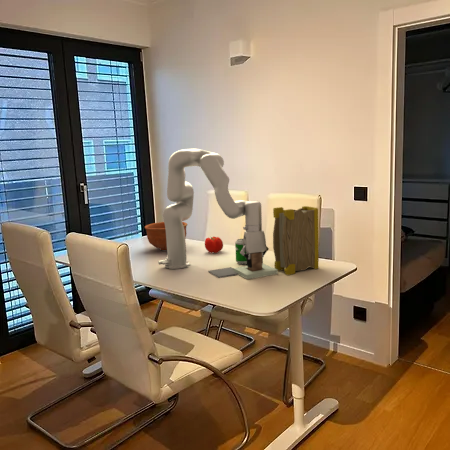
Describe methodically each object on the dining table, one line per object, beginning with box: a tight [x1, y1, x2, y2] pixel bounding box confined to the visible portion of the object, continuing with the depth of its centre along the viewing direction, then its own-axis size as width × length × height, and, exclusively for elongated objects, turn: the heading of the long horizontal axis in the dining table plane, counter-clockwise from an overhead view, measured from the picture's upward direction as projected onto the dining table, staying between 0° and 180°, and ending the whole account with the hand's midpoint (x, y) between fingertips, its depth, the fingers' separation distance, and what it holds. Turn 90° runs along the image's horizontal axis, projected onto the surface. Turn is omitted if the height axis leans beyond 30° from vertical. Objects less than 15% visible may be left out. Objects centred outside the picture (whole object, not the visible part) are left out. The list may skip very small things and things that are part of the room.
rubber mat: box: [207, 266, 239, 279], centre depth 224 cm, size 12×12×1 cm
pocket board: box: [232, 262, 278, 280], centre depth 222 cm, size 16×14×2 cm
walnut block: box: [248, 252, 262, 272], centre depth 221 cm, size 5×5×10 cm
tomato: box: [204, 236, 224, 254], centre depth 266 cm, size 11×11×9 cm
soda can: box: [234, 238, 247, 265], centre depth 241 cm, size 8×8×12 cm
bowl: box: [144, 221, 188, 251], centre depth 278 cm, size 25×25×15 cm
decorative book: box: [272, 205, 319, 276], centre depth 222 cm, size 20×11×30 cm, turn 116°
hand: (254, 265), depth 221 cm, fingers closed on walnut block, 5 cm apart
